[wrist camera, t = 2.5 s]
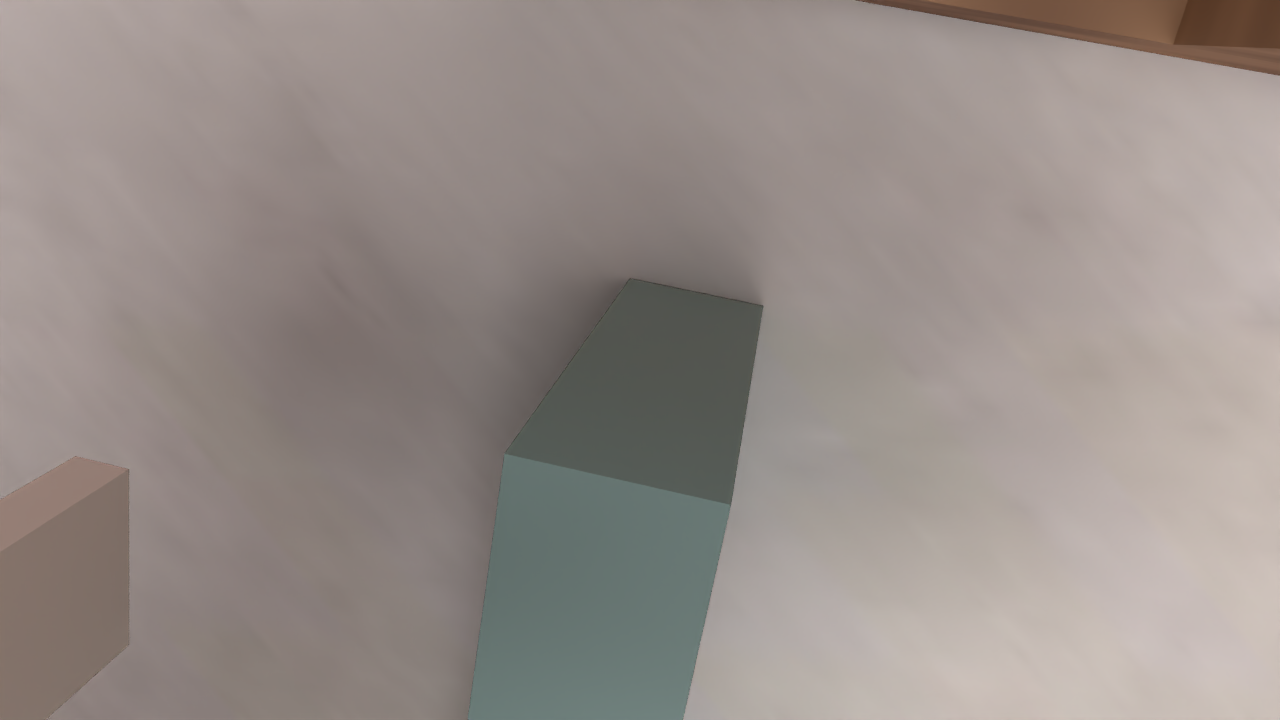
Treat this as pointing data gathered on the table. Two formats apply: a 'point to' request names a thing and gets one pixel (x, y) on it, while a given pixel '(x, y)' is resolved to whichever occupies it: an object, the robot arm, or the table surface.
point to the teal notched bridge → (617, 515)
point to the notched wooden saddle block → (1138, 25)
